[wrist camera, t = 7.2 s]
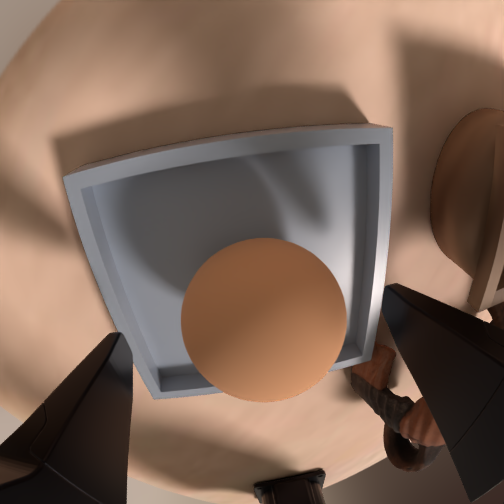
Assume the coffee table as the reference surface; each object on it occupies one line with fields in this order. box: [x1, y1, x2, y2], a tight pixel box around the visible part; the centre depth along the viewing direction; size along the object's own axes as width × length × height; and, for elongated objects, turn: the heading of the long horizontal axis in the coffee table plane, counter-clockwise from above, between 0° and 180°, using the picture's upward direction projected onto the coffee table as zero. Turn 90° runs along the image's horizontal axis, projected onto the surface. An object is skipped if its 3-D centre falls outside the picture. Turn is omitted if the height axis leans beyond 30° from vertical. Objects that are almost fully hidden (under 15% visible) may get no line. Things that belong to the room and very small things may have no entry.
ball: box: [181, 238, 347, 402], centre depth 9 cm, size 5×5×5 cm
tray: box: [63, 123, 393, 399], centre depth 11 cm, size 10×10×2 cm
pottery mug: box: [351, 301, 504, 472], centre depth 14 cm, size 12×10×8 cm
